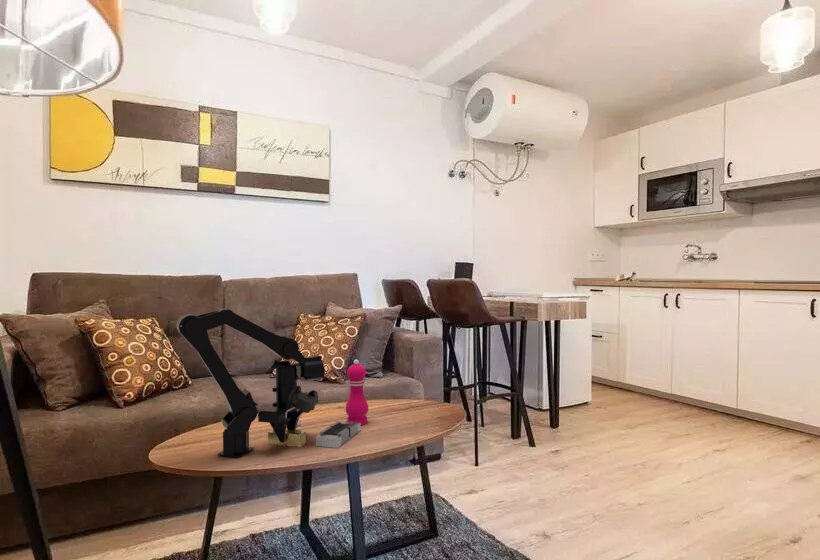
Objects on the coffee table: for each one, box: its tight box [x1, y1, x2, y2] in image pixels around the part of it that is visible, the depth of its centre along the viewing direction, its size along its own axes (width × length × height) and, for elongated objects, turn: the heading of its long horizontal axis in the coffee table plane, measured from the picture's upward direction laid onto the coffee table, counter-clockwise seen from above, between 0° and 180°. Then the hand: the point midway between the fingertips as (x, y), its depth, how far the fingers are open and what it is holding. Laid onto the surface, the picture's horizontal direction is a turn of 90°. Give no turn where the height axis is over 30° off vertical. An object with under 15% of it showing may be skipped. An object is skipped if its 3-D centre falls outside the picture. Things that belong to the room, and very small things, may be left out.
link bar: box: [267, 428, 307, 448], centre depth 129 cm, size 10×3×4 cm, turn 73°
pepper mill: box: [345, 359, 369, 426], centre depth 148 cm, size 7×7×20 cm
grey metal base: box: [315, 420, 362, 449], centre depth 134 cm, size 16×6×3 cm, turn 163°
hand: (287, 439), depth 129 cm, fingers open, 4 cm apart
